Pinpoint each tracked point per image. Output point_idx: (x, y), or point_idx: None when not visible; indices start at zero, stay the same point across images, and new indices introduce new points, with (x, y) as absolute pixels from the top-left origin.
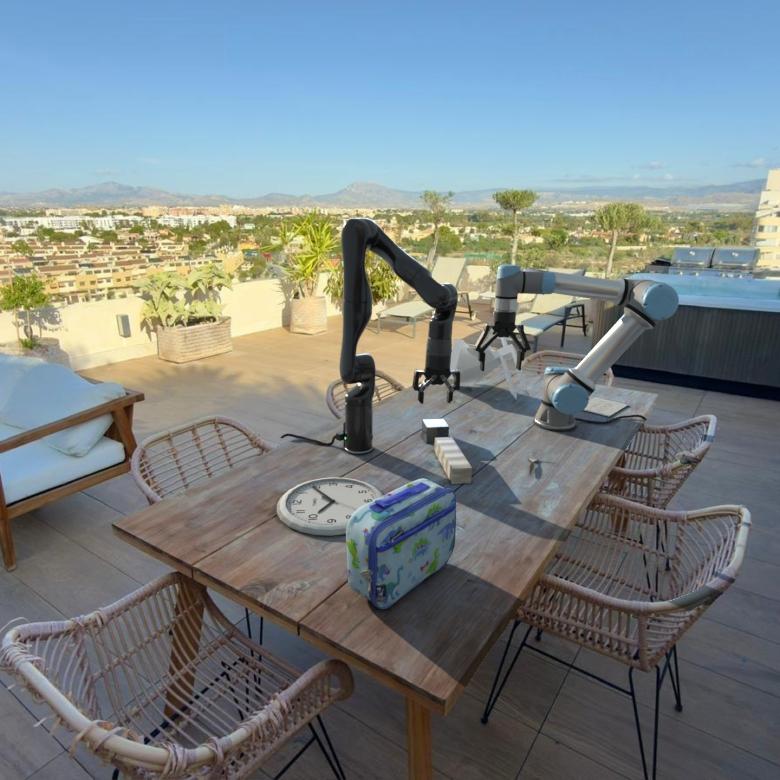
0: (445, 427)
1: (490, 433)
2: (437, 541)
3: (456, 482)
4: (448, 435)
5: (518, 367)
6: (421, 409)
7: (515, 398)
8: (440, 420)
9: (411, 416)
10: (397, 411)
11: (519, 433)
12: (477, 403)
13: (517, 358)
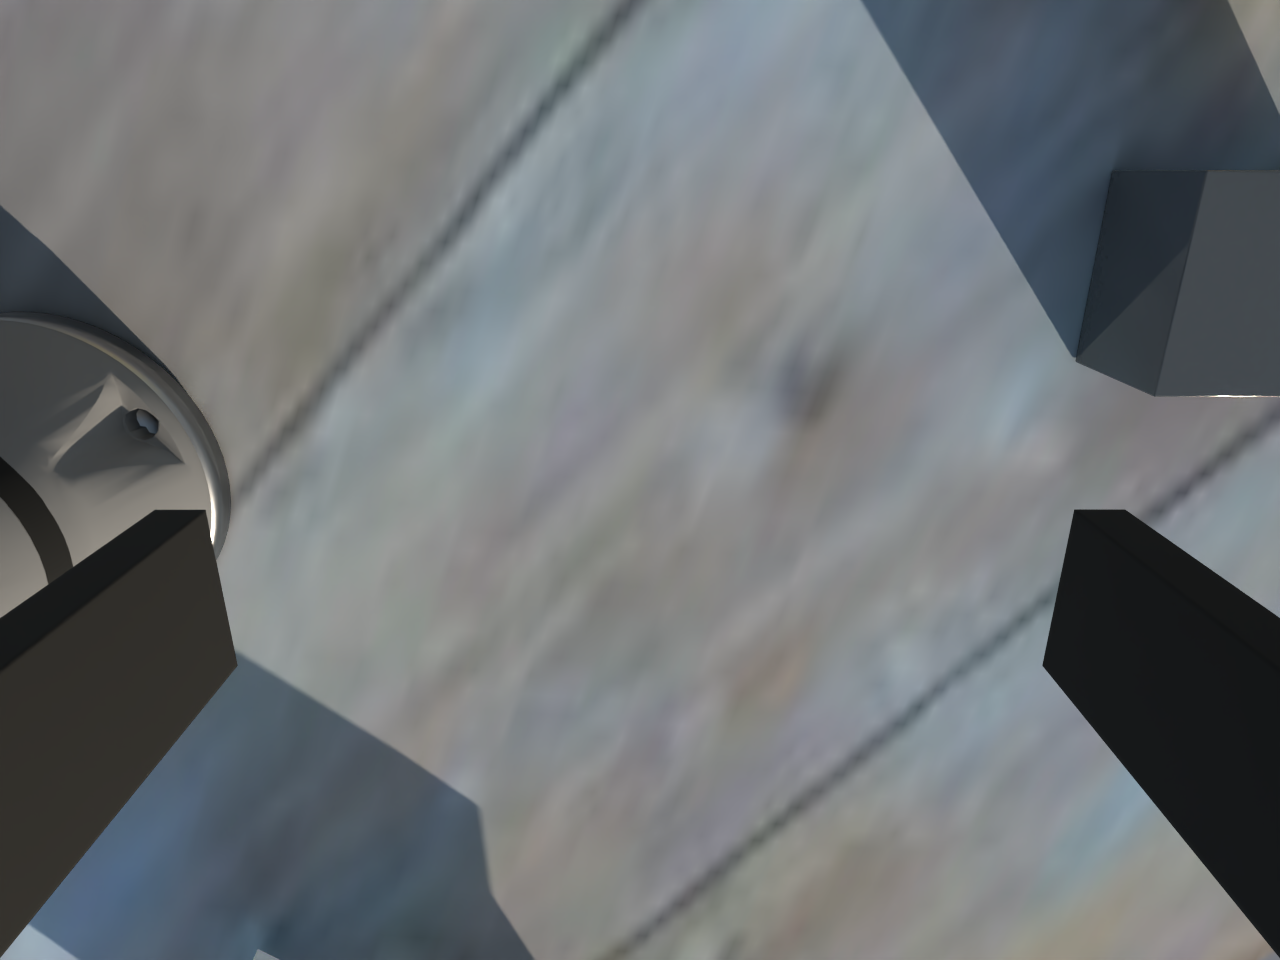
0: (1239, 170)
1: (674, 333)
2: None
3: None
4: (1150, 170)
5: (180, 571)
6: (1027, 842)
7: (262, 953)
8: (1209, 352)
9: None
10: None
11: (424, 308)
12: (570, 913)
13: (76, 818)
